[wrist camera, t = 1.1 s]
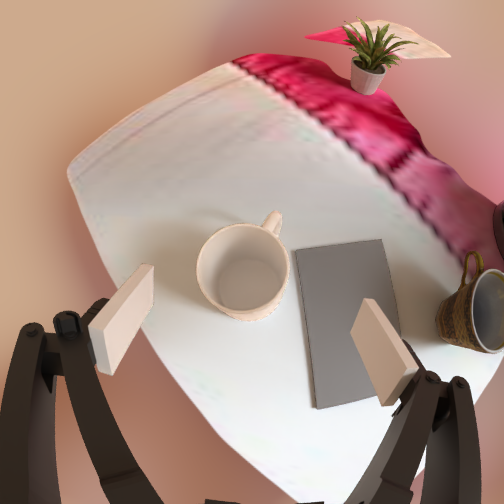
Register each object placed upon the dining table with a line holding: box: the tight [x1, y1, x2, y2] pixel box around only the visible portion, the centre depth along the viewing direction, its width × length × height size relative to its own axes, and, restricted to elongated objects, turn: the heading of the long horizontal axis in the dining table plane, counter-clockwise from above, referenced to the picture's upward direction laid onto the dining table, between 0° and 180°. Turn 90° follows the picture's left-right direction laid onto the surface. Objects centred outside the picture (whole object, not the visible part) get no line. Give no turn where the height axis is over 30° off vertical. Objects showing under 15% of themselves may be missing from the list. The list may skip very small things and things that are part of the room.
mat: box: [295, 239, 401, 410], centre depth 31 cm, size 20×12×1 cm, turn 6°
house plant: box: [343, 18, 418, 95], centre depth 37 cm, size 14×14×16 cm
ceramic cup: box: [436, 251, 504, 354], centre depth 26 cm, size 13×10×10 cm
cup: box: [196, 211, 290, 321], centre depth 29 cm, size 8×12×10 cm
